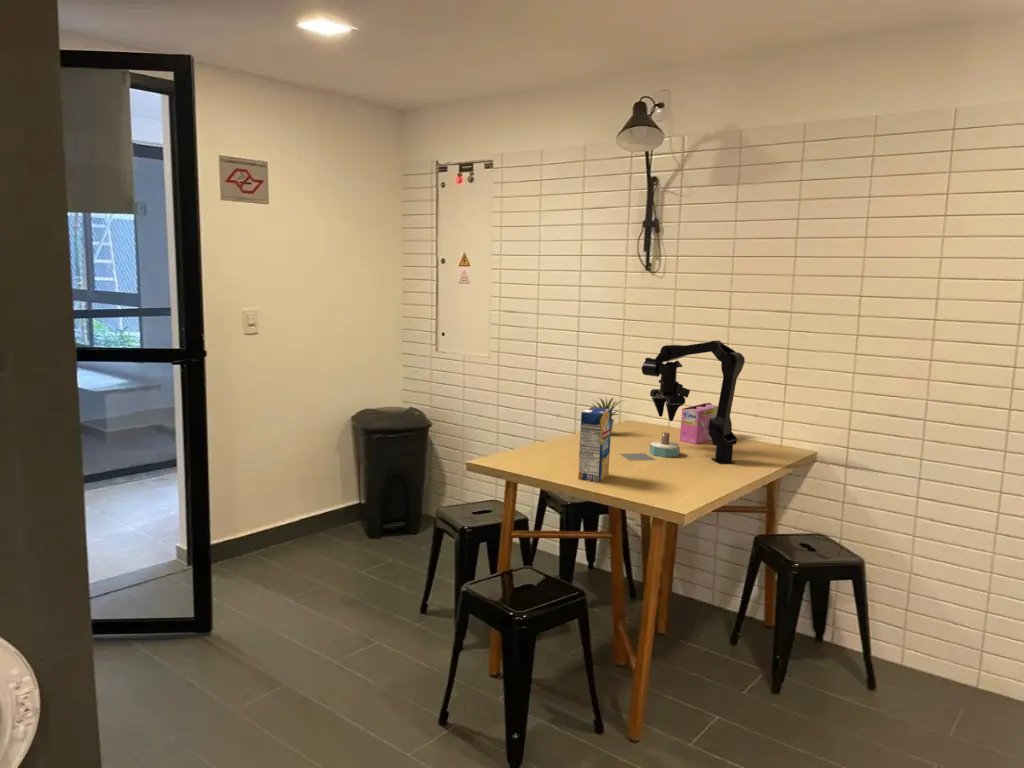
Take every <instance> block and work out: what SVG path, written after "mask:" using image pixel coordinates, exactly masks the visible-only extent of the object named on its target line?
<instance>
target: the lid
mask: <svg viewBox="0 0 1024 768" xmlns="http://www.w3.org/2000/svg"><path fill="white" fill-rule="evenodd" d="M650 445H651V446H653V447H656V448H661V449H676V448H679V447H680V444H679V443H678V442H674V441H670V432H666V431H663V432H661V440H654V441H651V444H650Z"/></svg>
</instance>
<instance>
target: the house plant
mask: <svg viewBox="0 0 1024 768" xmlns="http://www.w3.org/2000/svg"><path fill="white" fill-rule="evenodd" d="M598 400H599V401H600V402H601V404H602V405H601V404H600V403H599V402H598V401H596V400H595V399H593V401H594V402H595V403H596V404H597V405H598V406H597V405H596V404H594V403H591V405H592V407H597V408H606V409H612V417H613V416H619V414H621V412H620V411H614V412H613V409H614V408H615V407H616V406H617V405H619V404H620V403H621V402H624V401H626V399H625V400H624V399H623V400H619V401H616V400H615V398H614V397H611V398H610V399H609V401H608V398H607V396H605V401H604V400H603V399H602V398H601V397H598ZM613 401H614V402H613ZM618 413H619V414H618ZM614 422H615V420H614V419H613V418H612V419H611V433H612V432H613V426H614Z"/></svg>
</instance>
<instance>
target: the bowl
mask: <svg viewBox="0 0 1024 768" xmlns="http://www.w3.org/2000/svg"><path fill="white" fill-rule="evenodd" d="M680 448H681V446H679V448H676V449H661V448H656V447H653V446H651V444H650V445H649V453H650V455H652V456H654V457H659V458H677V457H678V456H679V455H680V450H681V449H680Z"/></svg>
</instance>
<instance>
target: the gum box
mask: <svg viewBox="0 0 1024 768" xmlns="http://www.w3.org/2000/svg"><path fill="white" fill-rule="evenodd" d="M717 410H718V404H717V405H716V404H712V403H711V402H707V403H706V402H705V403H700V404H695V405H693V406H687V407H683V408H681V419H680V420H681V421H680V432H679V433H680V434H679V442H681V443H682V442H683V443H687V444H692V445H693V444H694V445H698V444H702V443H706V442H709V441H712V438H711V437H710V436H709V430H707V429H708V428H709V421H710V419H713V418H715V417H716V415H717Z"/></svg>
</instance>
